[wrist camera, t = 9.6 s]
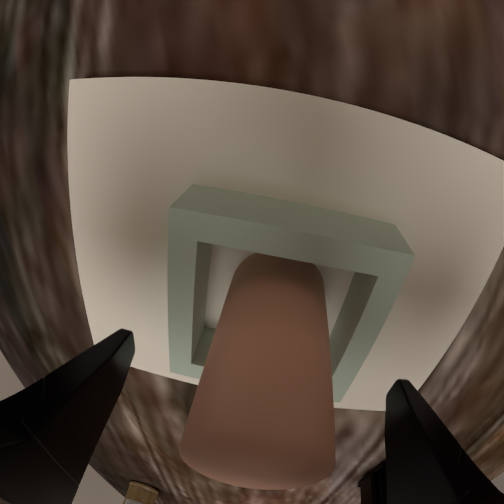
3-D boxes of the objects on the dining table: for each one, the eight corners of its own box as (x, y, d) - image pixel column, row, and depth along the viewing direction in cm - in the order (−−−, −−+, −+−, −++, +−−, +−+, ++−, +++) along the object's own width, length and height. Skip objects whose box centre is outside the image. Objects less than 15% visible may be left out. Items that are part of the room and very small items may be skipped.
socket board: (517, 168, 10) (563, 194, 7) (398, 399, 18) (406, 442, 15) (83, 78, 11) (30, 83, 8) (103, 344, 19) (80, 382, 16)
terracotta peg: (335, 259, 13) (361, 442, 6) (310, 331, 15) (308, 494, 8) (237, 240, 13) (175, 414, 6) (226, 315, 15) (181, 474, 8)
